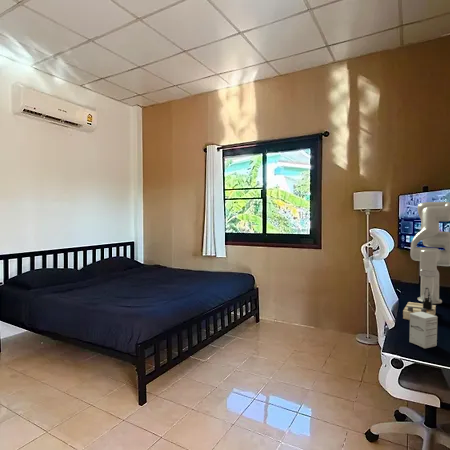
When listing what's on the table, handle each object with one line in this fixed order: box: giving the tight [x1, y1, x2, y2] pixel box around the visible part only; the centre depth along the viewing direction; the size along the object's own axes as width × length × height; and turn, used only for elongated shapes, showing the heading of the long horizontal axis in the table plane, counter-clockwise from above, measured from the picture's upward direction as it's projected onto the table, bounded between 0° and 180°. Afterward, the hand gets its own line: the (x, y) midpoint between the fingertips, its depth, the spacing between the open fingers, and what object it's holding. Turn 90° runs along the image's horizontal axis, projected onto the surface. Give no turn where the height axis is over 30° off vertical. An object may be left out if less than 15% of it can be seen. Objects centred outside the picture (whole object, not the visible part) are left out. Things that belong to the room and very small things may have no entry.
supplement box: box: [408, 311, 438, 349], centre depth 138 cm, size 7×7×13 cm
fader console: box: [402, 301, 437, 321], centre depth 174 cm, size 20×13×6 cm, turn 144°
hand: (427, 307), depth 172 cm, fingers open, 4 cm apart
